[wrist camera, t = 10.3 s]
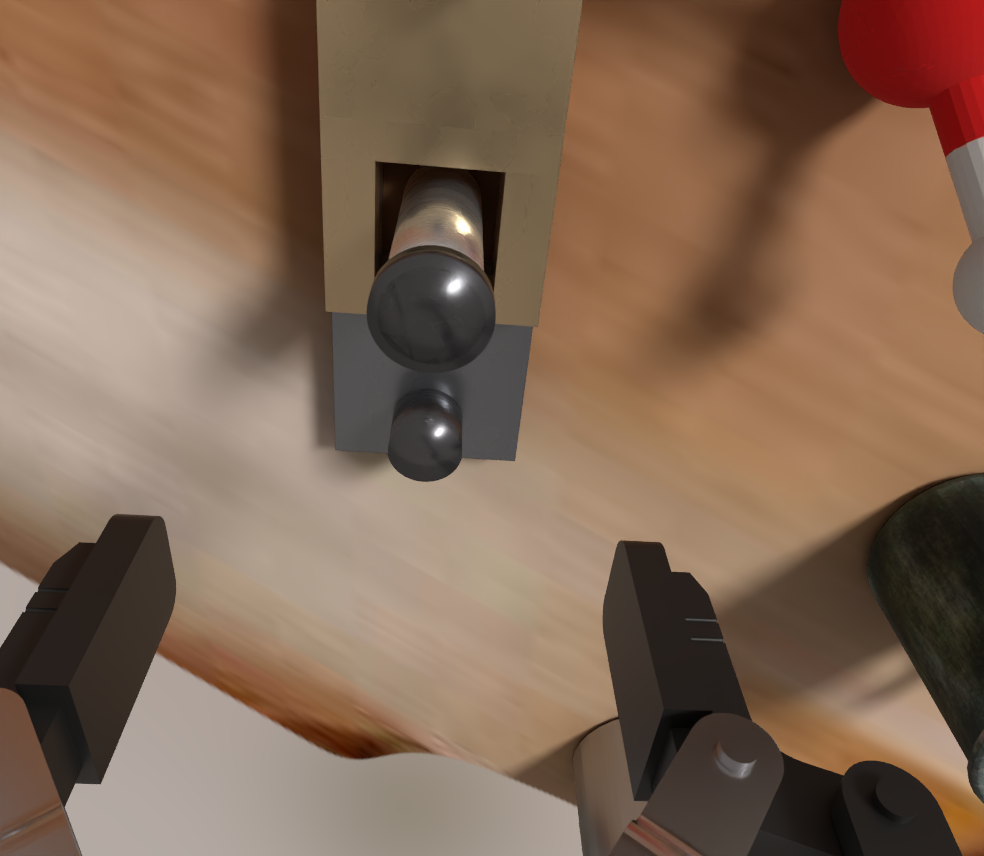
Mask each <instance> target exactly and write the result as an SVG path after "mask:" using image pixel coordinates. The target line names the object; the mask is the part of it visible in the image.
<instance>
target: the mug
mask: <svg viewBox="0 0 984 856" xmlns="http://www.w3.org/2000/svg"><path fill="white" fill-rule="evenodd" d="M867 577H868V582H869V586H870V588H871V590H872V593H873V595H874V597H875V598H876V600H877V602H878V604H879V605H880V607H881V609H882V611H883V612H884V614H885V616H886V618H887V619H888V621H889V623H890V625H891V626H892V628H893V630H894V632H895V633H896V635H897V637H898V639H899V640H900V642H901V644H902V646H903V647H904V649H905V651H906V653H907V654H908V656H909V658H910V660H911V661H912V663H913V665H914V667H915V668H916V670H917V672H918V674H919V675H920V677H921V679H922V681H923V682H924V684H925V686H926V688H927V690H928V691H929V693H930V695H931V697H932V698H933V700H934V702H935V704H936V705H937V707H938V709H939V711H940V712H941V714H942V716H943V718H944V719H945V721H946V723H947V725H948V726H949V728H950V730H951V732H952V733H953V735H954V737H955V739H956V740H957V742H958V744H959V746H960V747H961V749H962V751H963V753H964V754H965V756H966V758H967V760H968V766H967V770H968V778H969V783H970V785H971V787H972V789H973V792H974V793H975V794H976V796H977V797H978V798H979V799H980V800H981V801H982V802H983V803H984V473H983V474H975V475H969V476H963V477H960V478H956V479H953V480H950V481H947V482H944V483H942V484H939V485H937V486H934V487H932V488H930V489H928V490H926V491H925V492H923V493H921V494H919V495H917V496H916V497H914V498H913V499H911V500H910V501H909V502H907V503H906V504H904V505H903V506H902V507H901V508H900V509H899V510H898V511H896V512H895V513H894V514H893V515H892V516H891V517H890V519H889V520H888V521H887V522H886V523H885V524H884V526H883V527H882V529H881V530H880V532H879V533H878V535H877V537H876V539H875V541H874V543H873V545H872V549H871V553H870V557H869V561H868V568H867Z"/></svg>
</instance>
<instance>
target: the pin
mask: <svg viewBox="0 0 984 856" xmlns="http://www.w3.org/2000/svg"><path fill="white" fill-rule="evenodd" d="M366 314H367V323H368V327H369V330H370V333H371V336H372V337H373V339H374V341H375V343H376V344H377V346H378V347H379V348H380V349H381V351H382V352H383V353H384V354H385V355H386V356H388V357H389V358H390V359H391V360H393V361H394V362H396V363H397V364H399V365H401V366H403V367H405V368H408V369H411V370H414V371H418V372H424V373H443V372H448V371H453V370H455V369H458V368H461V367H463V366H465V365H467V364H468V363H470V362H471V361H473V360H474V359H475V358H477V357H478V356H479V355H480V354H481V353H482V352H483V350H484V349H485V348H486V346H487V345H488V343H489V341H490V339H491V337H492V335H493V332H494V328H495V322H496V310H495V297H494V292H493V288H492V285H491V283H490V281H489V279H488V277H487V275H486V274H485V272H484V263H483V228H482V198H481V192H480V188H479V186H478V183H477V182H476V180H475V178H474V177H473V176H472V175H471V174H470V173H469V172H468V171H467V170H466V169H460V168H449V167H437V166H425V165H424V166H422V167H420V168H419V169H417V170H416V171H415V172H414V173H413V174H412V175H411V177H410V178H409V180H408V182H407V184H406V186H405V190H404V194H403V199H402V203H401V207H400V212H399V216H398V221H397V225H396V229H395V234H394V238H393V243H392V247H391V251H390V256H389V260H388V261H387V262H386V263H385V264H384V265H383V266H382V267H381V269H380V270H379V271H378V273H377V275H376V276H375V278H374V281H373V283H372V286H371V290H370V294H369V298H368V303H367V311H366Z"/></svg>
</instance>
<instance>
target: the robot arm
mask: <svg viewBox="0 0 984 856" xmlns="http://www.w3.org/2000/svg"><path fill="white" fill-rule="evenodd" d="M175 596H176V579H175V573H174V568H173V563H172V557H171V552H170V547H169V541H168V536H167V531H166V526H165V522H164V520H163V518H162V517H160V516H145V515H125V514H115V515H114V516H112V517H111V519H110V520H109V522H108V523H107V525H106V527H105V528H104V530H103V532H102V534H101V535H100V537H99V539H98V541H97V542H96V543H81V542H79V543H78V544H77V545H76V546H74V547H73V548H72V549H71V550H69V551H68V552H67V553H66V554H64V555H63V556H62V557H61V558H59V559H58V560H57V561H56V562H54V563H53V565H52V566H51V568H50V569H49V571H48V573H47V574H46V576H45V577H44V579H43V581H42V582H41V584H40V585H39V587H38V592H35V594H34V595H33V597H32V598H31V600H30V602H29V603H28V605H27V607H26V611H25V612H23V613H22V614H21V616H20V617H19V619H18V620H17V622H16V624H15V625H14V627H13V628H12V630H11V632H10V633H9V635H8V637H7V638H6V640H5V641H4V643H3V644H2V646H1V648H0V856H82V854H81V851H80V848H79V846H78V843H77V840H76V837H75V835H74V832H73V829H72V826H71V824H70V821H69V818H68V815H67V813H66V810H65V805H66V803H67V800H68V798H69V796H70V794H71V791H72V789H73V787H74V785H75V783H82V784H101V782H102V780H103V777H104V775H105V772H106V770H107V768H108V765H109V763H110V761H111V758H112V756H113V753H114V751H115V749H116V746H117V744H118V741H119V739H120V737H121V734H122V732H123V729H124V727H125V724H126V722H127V720H128V717H129V715H130V712H131V710H132V708H133V705H134V703H135V701H136V698H137V696H138V694H139V691H140V689H141V686H142V684H143V682H144V679H145V677H146V674H147V672H148V670H149V667H150V665H151V662H152V660H153V658H154V655H155V653H156V650H157V648H158V646H159V643H160V641H161V638H162V636H163V634H164V631H165V629H166V627H167V624H168V622H169V619H170V617H171V614H172V611H173V607H174V603H175ZM716 619H717V618H716V616H715V613H714V610H713V607H712V604H711V601H710V598H709V595H708V594H707V592H706V591H705V590H704V589H703V588H702V587H701V585H700V584H699V583H698V582H697V581H696V580H695V578H694V577H693V576H692V575H691V574H690V573H686V572H671V569H670V566H669V563H668V559H667V556H666V553H665V549H664V547H663V545H662V544H661V543H660V542H642V541H619V542H618V544H617V547H616V551H615V555H614V560H613V564H612V568H611V573H610V577H609V581H608V586H607V590H606V594H605V599H604V605H603V633H604V639H605V644H606V650H607V655H608V661H609V667H610V672H611V678H612V683H613V689H614V694H615V700H616V705H617V711H618V716H619V719H618V720H614V721H611V722H609V723H607V724H605V725H603V726H600V727H599V728H597V729H596V730H594V731H593V732H591V733H590V734H588V735H587V736H586V737H585V738H584V739H583V740H582V741H581V742H580V743H579V745H578V747H577V748H576V750H575V752H574V756H573V770H574V779H575V788H576V797H577V806H578V815H579V826H580V834H581V842H582V852H583V856H962V854H961V851H960V849H959V847H958V845H957V843H956V840H955V838H954V836H953V834H952V832H951V830H950V827H949V825H948V823H947V821H946V819H945V816H944V814H943V812H942V810H941V808H940V806H939V804H938V802H937V801H936V799H935V798H934V796H933V795H932V794H931V792H930V791H929V790H928V789H927V788H926V787H925V786H924V785H923V784H922V783H921V782H920V781H919V780H917V779H916V778H915V777H913V776H912V775H911V774H909V773H908V772H906V771H904V770H902V769H901V768H898V767H896V766H894V765H891V764H888V763H885V762H880V761H863V762H859V763H857V764H854V765H853V766H851V767H850V768H849V769H848V770H847V772H846V773H845V775H844V776H843V775H840V774H837V773H834V772H831V771H828V770H825V769H822V768H819V767H816V766H813V765H810V764H807V763H804V762H801V761H799V760H796V759H794V758H792V757H790V756H788V755H786V754H784V753H783V752H781V751H780V750H779V748H778V746H777V744H776V743H775V741H774V740H773V738H772V737H771V736H770V735H769V734H768V733H767V732H766V731H765V730H764V729H763V728H761V727H760V726H759V725H757V724H756V723H754V722H753V721H752V719H751V717H750V715H749V712H748V709H747V706H746V703H745V700H744V697H743V694H742V691H741V689H740V686H739V683H738V680H737V677H736V674H735V671H734V668H733V665H732V662H731V659H730V656H729V654H728V651H727V648H726V645H725V643H723V636H722V633H721V630H720V627H719V624H718V623H716Z"/></svg>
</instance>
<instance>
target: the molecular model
mask: <svg viewBox="0 0 984 856" xmlns="http://www.w3.org/2000/svg"><path fill="white" fill-rule="evenodd" d="M838 40H839V47H840V52H841V55H842V58H843V61H844V63H845V65H846V67H847V70H848V71H849V73H850V74H851V76H852V77H853V79H854V80H855V81H856V82H857V83H858V84H859V85H860V86H861V87H862V88H863V89H864V90H865V91H866V92H868V93H869V94H870V95H872V96H874V97H875V98H877V99H879V100H881V101H883V102H885V103H889V104H892V105H896V106H900V107H906V108H930V111H931V114H932V118H933V121H934V124H935V127H936V130H937V133H938V136H939V140H940V143H941V146H942V149H943V152H944V155H945V158H946V161H947V165H948V168H949V171H950V174H951V177H952V180H953V183H954V187H955V190H956V193H957V196H958V199H959V202H960V205H961V208H962V212H963V215H964V218H965V221H966V224H967V227H968V230H969V234H970V237H971V240H972V244H971V245H970V246H969V248H968V249H967V250H966V251H965V252H964V254H963V255H962V257H961V259H960V260H959V263H958V265H957V267H956V269H955V273H954V278H953V296H954V300H955V303H956V306H957V308H958V310H959V312H960V313H961V315H962V316H963V318H964V319H965V320H966V321H967V322H968V323H969V324H970V325H971V326H972V327H973V328H975V329H976V330H978V331H979V332H981V333H983V334H984V0H842V3H841V7H840V11H839V19H838Z"/></svg>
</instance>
